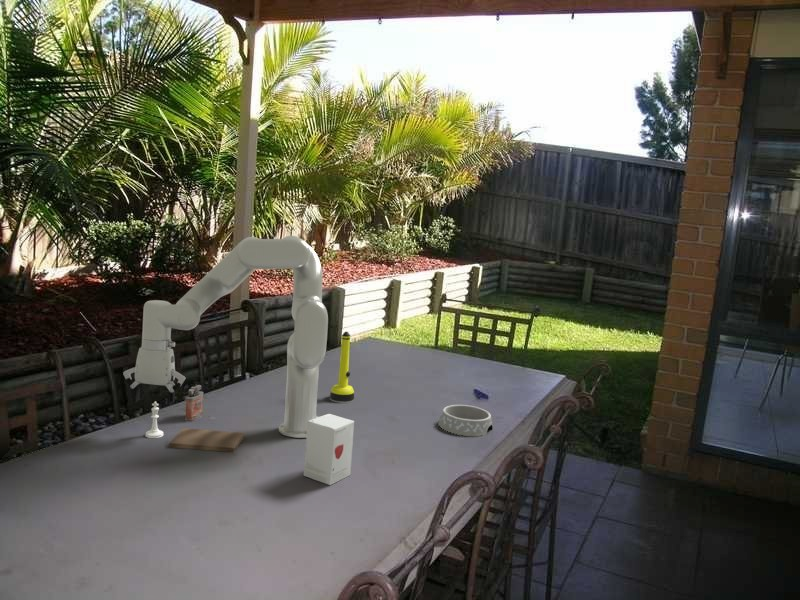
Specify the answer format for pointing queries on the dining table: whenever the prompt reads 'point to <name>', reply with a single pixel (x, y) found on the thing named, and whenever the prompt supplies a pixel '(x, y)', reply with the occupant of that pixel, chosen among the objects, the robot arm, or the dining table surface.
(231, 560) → the dining table surface
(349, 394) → the flashlight
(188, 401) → the lighter
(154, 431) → the chess piece
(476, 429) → the dog bowl
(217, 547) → the dining table surface
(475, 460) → the dining table surface
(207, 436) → the walnut board
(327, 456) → the supplement box
